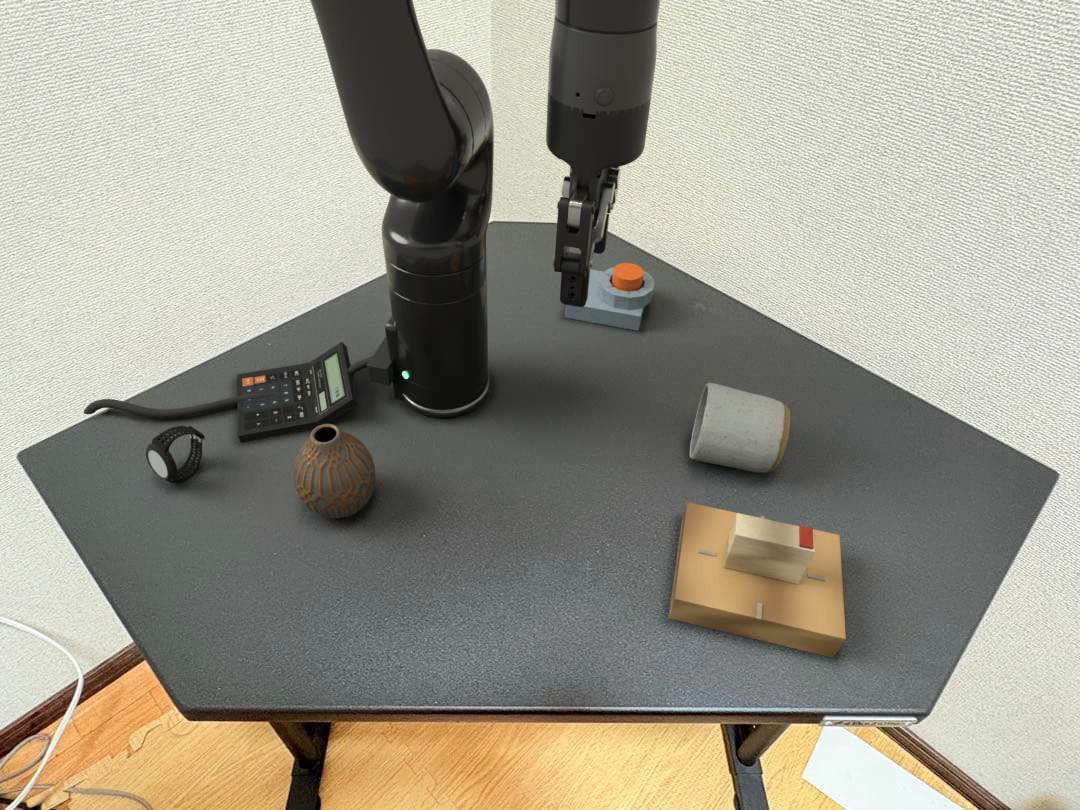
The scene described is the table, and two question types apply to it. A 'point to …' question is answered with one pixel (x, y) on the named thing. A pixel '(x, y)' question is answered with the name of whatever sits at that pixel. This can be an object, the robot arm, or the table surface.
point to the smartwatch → (164, 460)
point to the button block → (613, 302)
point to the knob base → (757, 589)
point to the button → (627, 277)
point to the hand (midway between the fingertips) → (583, 276)
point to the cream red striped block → (769, 548)
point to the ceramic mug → (739, 429)
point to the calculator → (296, 396)
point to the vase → (333, 473)
